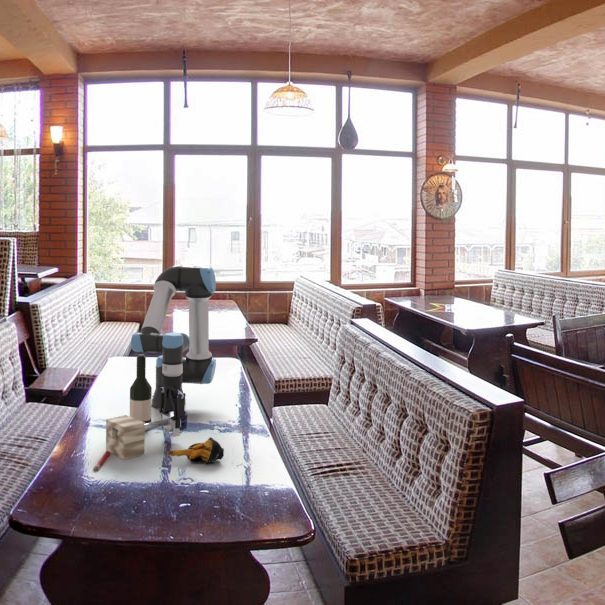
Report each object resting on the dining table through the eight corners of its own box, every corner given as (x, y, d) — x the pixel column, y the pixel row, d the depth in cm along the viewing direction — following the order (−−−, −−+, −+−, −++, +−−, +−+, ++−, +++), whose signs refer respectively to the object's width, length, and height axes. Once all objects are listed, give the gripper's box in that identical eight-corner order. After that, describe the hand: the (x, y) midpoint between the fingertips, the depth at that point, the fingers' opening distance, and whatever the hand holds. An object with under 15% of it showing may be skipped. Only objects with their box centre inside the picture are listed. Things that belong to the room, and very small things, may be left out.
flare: (93, 471, 203) (93, 466, 203) (105, 455, 218) (105, 450, 218) (98, 471, 203) (98, 466, 203) (110, 455, 218) (110, 450, 218)
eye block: (106, 450, 222) (106, 419, 221) (127, 445, 228) (127, 414, 227) (124, 459, 214) (124, 427, 213) (146, 453, 220) (146, 422, 219)
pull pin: (113, 438, 220) (114, 425, 219) (172, 424, 239) (173, 411, 238) (121, 442, 216) (121, 428, 216) (180, 427, 235) (181, 414, 235)
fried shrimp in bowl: (228, 453, 211) (178, 441, 204) (216, 476, 215) (166, 465, 208) (226, 435, 219) (178, 423, 212) (213, 458, 223) (166, 447, 216)
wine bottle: (155, 427, 250) (156, 354, 246) (141, 433, 242) (142, 357, 239) (139, 424, 253) (139, 352, 250) (125, 429, 246) (125, 355, 242)
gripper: (149, 371, 236) (149, 430, 239) (179, 380, 224) (178, 442, 227) (166, 368, 242) (165, 426, 244) (195, 377, 230) (194, 437, 232)
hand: (171, 434), depth 236 cm, fingers closed on pull pin, 5 cm apart
